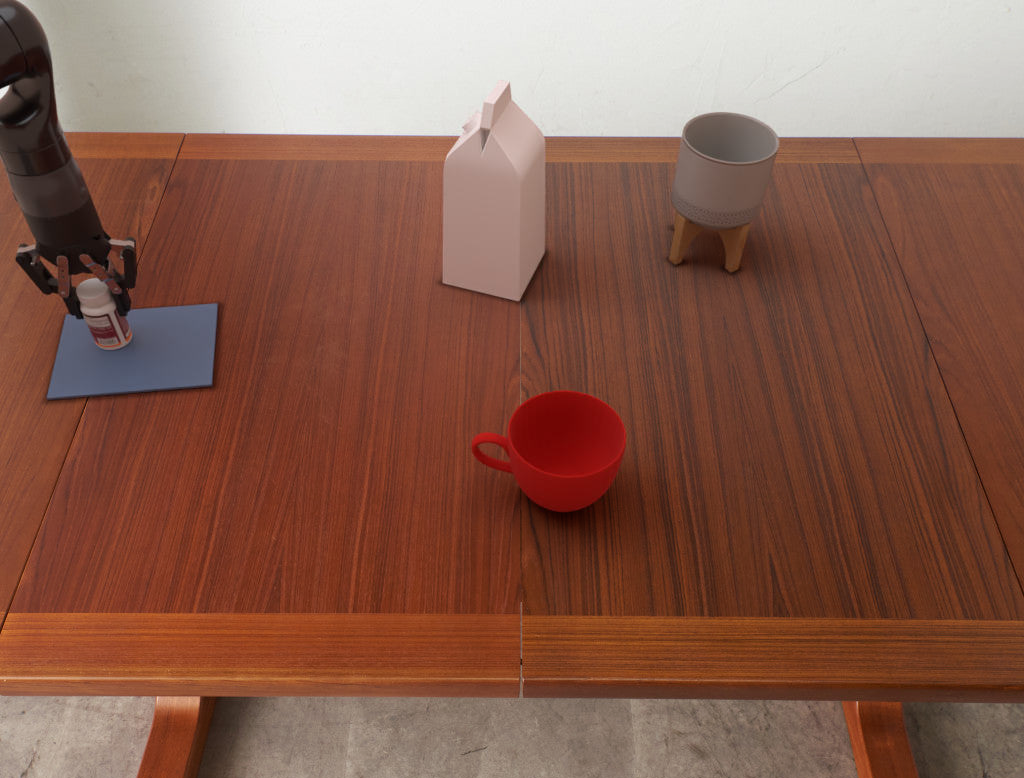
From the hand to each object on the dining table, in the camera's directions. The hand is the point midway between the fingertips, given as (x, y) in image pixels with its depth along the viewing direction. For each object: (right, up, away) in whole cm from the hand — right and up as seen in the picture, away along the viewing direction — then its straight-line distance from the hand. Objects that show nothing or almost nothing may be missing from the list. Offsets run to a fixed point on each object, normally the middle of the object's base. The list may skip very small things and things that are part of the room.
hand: (103, 313), depth 115 cm
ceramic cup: (+56, -23, -9) cm, 61 cm away
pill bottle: (0, -3, +4) cm, 5 cm away
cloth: (+3, -4, +3) cm, 6 cm away
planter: (+81, +14, +20) cm, 85 cm away
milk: (+50, +10, +16) cm, 53 cm away
